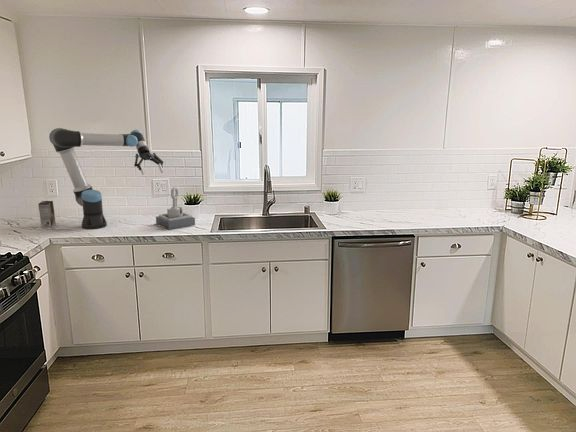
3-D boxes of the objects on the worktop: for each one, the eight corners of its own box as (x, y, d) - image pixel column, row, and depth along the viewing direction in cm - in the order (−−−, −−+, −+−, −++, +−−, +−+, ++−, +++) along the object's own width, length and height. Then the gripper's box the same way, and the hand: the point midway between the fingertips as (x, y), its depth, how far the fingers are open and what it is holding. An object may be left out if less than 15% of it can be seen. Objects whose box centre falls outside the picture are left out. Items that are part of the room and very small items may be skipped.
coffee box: (45, 224, 285) (42, 200, 282) (56, 224, 287) (53, 200, 283) (40, 228, 277) (37, 203, 273) (51, 227, 278) (48, 203, 274)
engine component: (164, 218, 285) (179, 219, 283) (163, 188, 280) (177, 189, 279) (172, 214, 296) (185, 215, 294) (170, 185, 291) (184, 186, 289)
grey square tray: (156, 223, 291) (155, 214, 290) (181, 219, 303) (181, 210, 302) (168, 229, 277) (168, 219, 276) (195, 225, 290) (194, 215, 288)
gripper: (158, 151, 310) (168, 174, 302) (123, 153, 294) (133, 177, 286) (160, 144, 305) (171, 168, 297) (126, 146, 289) (136, 170, 281)
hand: (153, 172), depth 292 cm, fingers open, 13 cm apart
